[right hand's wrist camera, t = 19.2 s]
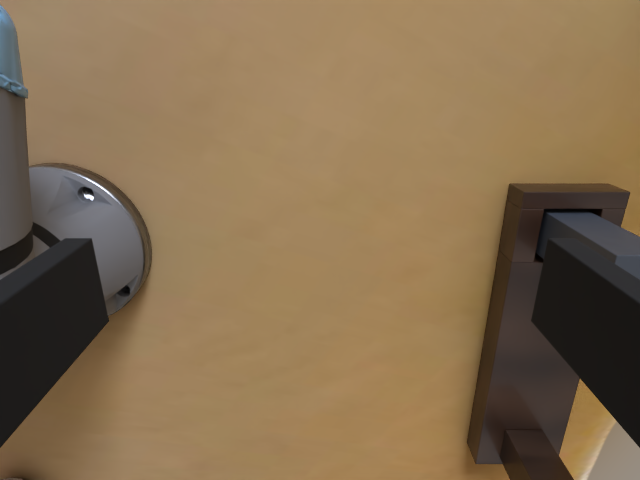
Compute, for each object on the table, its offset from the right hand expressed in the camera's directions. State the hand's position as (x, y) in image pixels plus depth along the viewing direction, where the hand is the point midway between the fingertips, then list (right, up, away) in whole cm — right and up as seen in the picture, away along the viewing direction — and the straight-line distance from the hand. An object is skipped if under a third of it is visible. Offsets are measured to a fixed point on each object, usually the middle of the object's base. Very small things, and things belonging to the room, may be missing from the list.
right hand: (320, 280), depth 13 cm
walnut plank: (+22, -9, +32) cm, 40 cm away
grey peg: (+22, +3, +28) cm, 35 cm away
